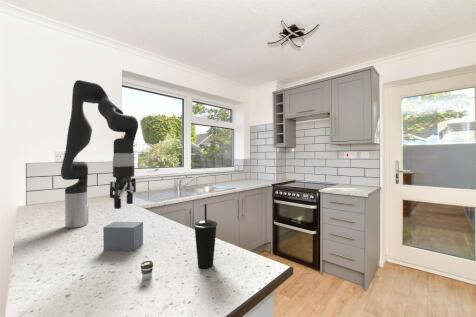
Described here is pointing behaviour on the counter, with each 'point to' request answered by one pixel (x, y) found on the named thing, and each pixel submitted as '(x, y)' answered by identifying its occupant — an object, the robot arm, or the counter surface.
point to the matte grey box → (123, 236)
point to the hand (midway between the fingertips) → (123, 206)
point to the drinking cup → (205, 241)
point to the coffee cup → (146, 269)
